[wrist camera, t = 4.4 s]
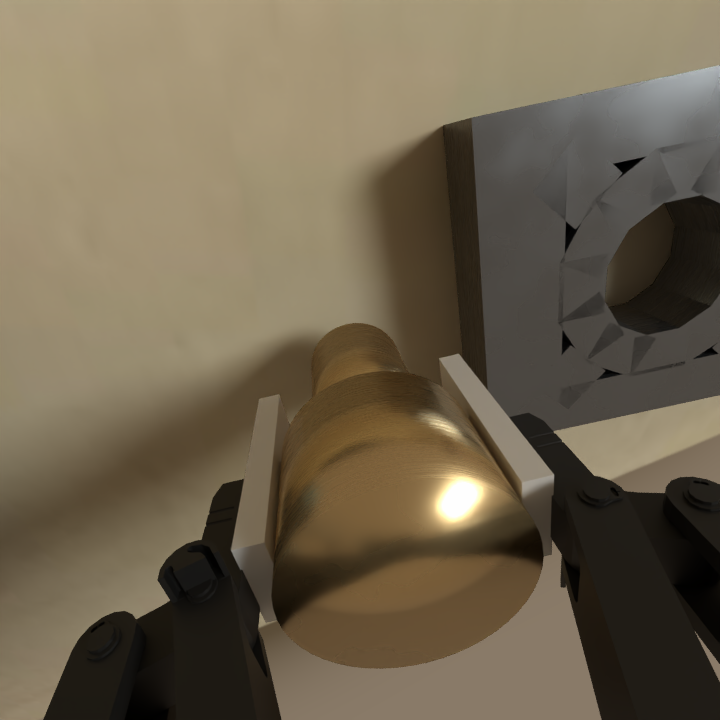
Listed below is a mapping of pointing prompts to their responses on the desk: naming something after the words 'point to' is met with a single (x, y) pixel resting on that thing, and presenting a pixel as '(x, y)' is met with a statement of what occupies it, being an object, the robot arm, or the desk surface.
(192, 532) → the desk surface
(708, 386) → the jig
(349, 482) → the knob
